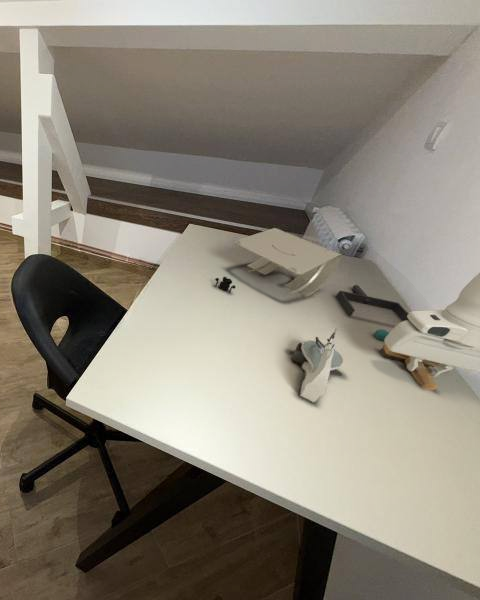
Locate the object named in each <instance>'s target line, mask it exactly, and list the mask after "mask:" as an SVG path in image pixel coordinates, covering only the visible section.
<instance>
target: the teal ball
mask: <svg viewBox="0 0 480 600" xmlns="http://www.w3.org/2000/svg"><path fill="white" fill-rule="evenodd" d="M389 333H390V331H388V330H385V329H377V330H375V331H374V333H373V337H374V338H376V339H377V340H378V341H382V342H385V341H384V339H385V338H386V336H387V335H388V334H389Z"/></svg>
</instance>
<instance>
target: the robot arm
mask: <svg viewBox="0 0 480 600" xmlns="http://www.w3.org/2000/svg"><path fill="white" fill-rule="evenodd" d="M408 313H409V314H408V315H407V318H408V319H409V320H405V321H402V320H401V322H399V323H397V324H396V325H394V327H393V328H392V329H391V330H390V331H389V334H388V335H387V336H386V338H385V339H384V341H383V342H384V345H385V344H386V346H387V347H388V348H389V350H390V351H392V352H396V353H400V354H404V355H408V356H410V363H409V364H408V365H406V369H407V370H408V371H409V372H410V371H413V372H418V370H420V369H421V367H420V366H419V364H418V361H419V362H422V361H423V360H424V359H425V360H429V361H433V362H437V363H440V364H439V365H436V366H434V367H431V366H429V367H428V368H426V369H427V371H428V373H429V374H430V376H431V377H433V378H437V377H438V376H440V374H442V373H445V372H450V371H452V370H453V369H454V368H458V369H463V370H466V371H470V372H474V373H478V374H480V272H478V273H477V274H475V276H474V277H473V278H472V279H471V280H470V281H468V283H467V284H466V285H465V286H464V288H462V290H461V291H460V293H459V294H458V297H457V299H455V301H453V302H452V303H450V304H449V305H447V306H446V307H445V308H444V309H436V310H411V311H410V312H408Z"/></svg>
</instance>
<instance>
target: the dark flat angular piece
mask: <svg viewBox="0 0 480 600" xmlns="http://www.w3.org/2000/svg"><path fill="white" fill-rule="evenodd" d="M351 288H352V290H353V291H354V292H350V291H345V290H341V289H340V290H338V292H337V294H336V296H335V298H336V299H337V301H338V303H339V305H340V306H341V308H342V309H343V310H344V312H345V314H346V315H347V317H351V316H352V315H353V314H354V312H355V311H356V309H355V307H354V306H353V305H352V304H351V302H356V303H360V304H364V305H368V306H373V307H378V308H382V309H387V310H391V311H393V312H394V314H395V315H396V316H397V317H398V318H399V319H400V320H401V322H402V321H405V320H409V319H408V318H407V315H408V314H409V313H410V312H408V311H407V310H406V309H405V308H404V307H403V305H401V304H400V303H399V302H397V301H392V300H387V299H383V298H378V297H373V296H368V294H367V293H366V292H365V291H364V290H363V289H362V287H361V286H360V285H358V284H354V285H352V286H351Z"/></svg>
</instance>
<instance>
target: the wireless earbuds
mask: <svg viewBox="0 0 480 600" xmlns="http://www.w3.org/2000/svg"><path fill="white" fill-rule="evenodd" d="M214 280H215V281H216V283H215V286H214V287H217V286H218V284H219V286H218V289H219V290H220V291H223V292H228V294H230V293H231V292H232V289H233V290H235V289H236V287H237V286H236V285H234V284H233V280H232V279H231V278H228V277H227V276H223V277H222V280H221V281H220V278H219V277H215V279H214ZM219 281H220V283H219ZM231 284H233V285H231Z"/></svg>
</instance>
